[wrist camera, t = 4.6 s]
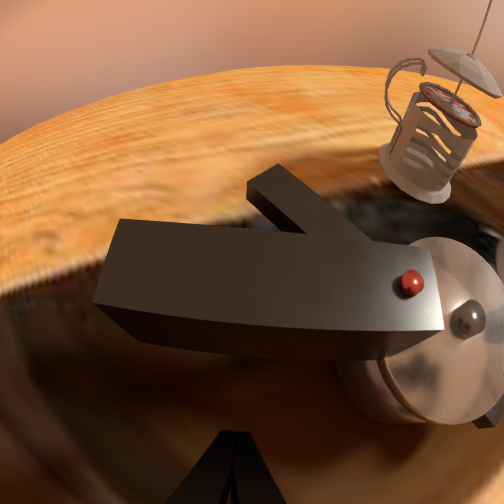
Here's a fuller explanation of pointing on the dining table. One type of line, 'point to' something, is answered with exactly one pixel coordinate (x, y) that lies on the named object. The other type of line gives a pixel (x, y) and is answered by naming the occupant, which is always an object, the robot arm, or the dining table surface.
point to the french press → (435, 126)
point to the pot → (336, 225)
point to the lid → (318, 305)
